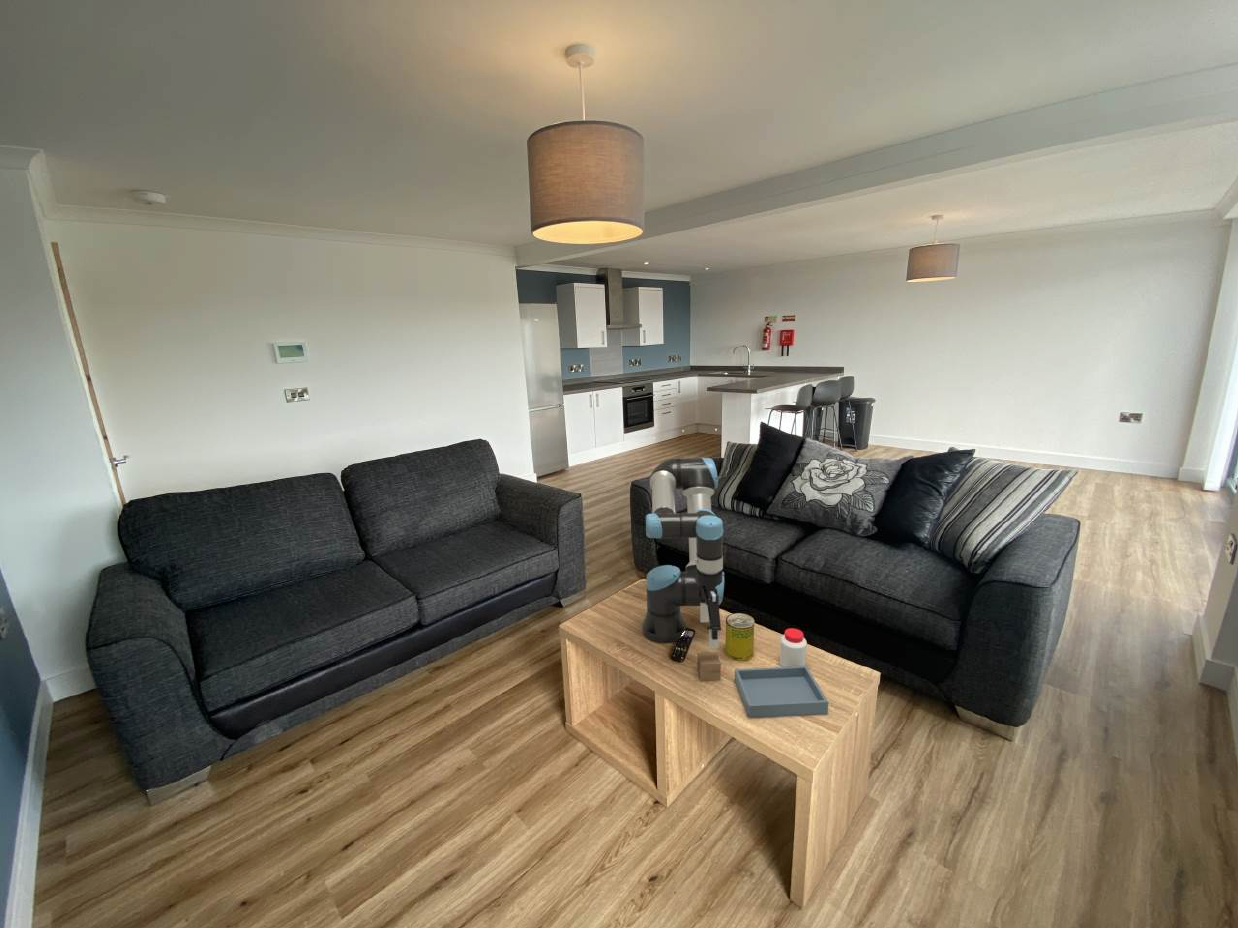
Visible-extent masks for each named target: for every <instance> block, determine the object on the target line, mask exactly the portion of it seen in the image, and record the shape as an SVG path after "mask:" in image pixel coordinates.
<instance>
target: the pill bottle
mask: <svg viewBox="0 0 1238 928" xmlns="http://www.w3.org/2000/svg"><path fill="white" fill-rule="evenodd" d="M779 645H780V646H779V647H780V649H779V665H780V667H792V666H807V665H806V662H807V648H808V647H807V646H808V642H807V639H806V638H805V637H804V633H803V631H801V630H800V629H797V628H793V627H792V628H787V629H785V631H784V634H782V636H781V637H780V644H779Z"/></svg>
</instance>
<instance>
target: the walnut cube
mask: <svg viewBox="0 0 1238 928" xmlns="http://www.w3.org/2000/svg"><path fill="white" fill-rule="evenodd" d="M696 655H697V657H696V659H697V660H696V661H697V663H696V664H697V665H696V666H697V672H698V677H699V681H700V682H706V683H707V682H721V681H722V680H721V678H722V677H721V676H722V663H721V660H720V658H719V654H718V652H717V651H706V652H705V651H703V652H702V651H700V652H697V654H696Z"/></svg>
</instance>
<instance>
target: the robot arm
mask: <svg viewBox="0 0 1238 928" xmlns="http://www.w3.org/2000/svg"><path fill="white" fill-rule="evenodd" d="M649 487H650V489H651V493H652V496H651V498H652V501H651V505H652V507H651V508H652V509H651V510H652V511H651V512H652V513H648V514H646V515H645V532H646V533H645V534H646V537H647V538H649V539H659V540H661V539H688V549H689V550H688V552H689V562H688V563H687V565H686V566H685V571H681V570H680V568H679V567H677V566H676V565H671V564H665V565H659V566H656V567H654V568H652V569H651V570H649V572H648V573H647V575H646V584H645V588H646V609H647V610H646V613H645V617H644V619H643V622H642V633H643V635H644V637H646V639H648V640H650V641H652V642H656V643H660V644H661V643H662V644H667V643H668V644H669V643H674V642H677V641H679V640H680V639H679V637H680V636H681V635H682V633H683V632H684V631H685V630H686V629H687V628H686V623H685V620H684V617H683V614H682V612H681V607H699V608H700V611H699V612H700V613H699V614H700V615H699V619H700V620H699V622H700V623H709V626H707V630H708V648H709V649H718V648H719V647H720V638H719V637H720V631H721V630H722V627H721V616H720V615H721V614H720V605H721V603H722V602H723V597H724V590H725V572H724V571H723V569H724V555H723V550H724V549H723V546H724V545H723V543H724V541H723V540H724V531H725V530H724V526H723V525H724V524H723V520H722V519H721V518H720V517H718V516H716V514H715V513H714V512H713V511H712V500H711V497H712V496H713V495H714V494H715V490H716V489H718V487H719V479H718V472H717V466H716V464H715V462H714V460H713V459H712V458H709V457H686V458H685V457H683V458H681V457H680V458H675V457H674V458H668V459H666V460H664V461H662V462H661V463H658V464H657V466H655V468H654V469H653V470H652V471H651V473H650V475H649ZM675 490H682V495H683V496H684V497H686V504H687V509H686V510H687V512H684V513H683V512H682V513H680V512H679V513H677V512H676V503H675ZM686 631H687V630H686ZM678 639H679V640H678Z"/></svg>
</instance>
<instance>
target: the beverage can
mask: <svg viewBox="0 0 1238 928" xmlns="http://www.w3.org/2000/svg"><path fill="white" fill-rule="evenodd" d="M724 643H725V651H724V653H725V656H726V657H728V659H730V660H732V661H734V662H740V663H743V662H749V661H752V659H753V657H754V654H755V653H754V648H755V619H754V617H752V616H750V615H749V614H746V613H740V612H736V613H735V612H734V613H730V614H728V615H727V616H726V617H725V641H724Z"/></svg>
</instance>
